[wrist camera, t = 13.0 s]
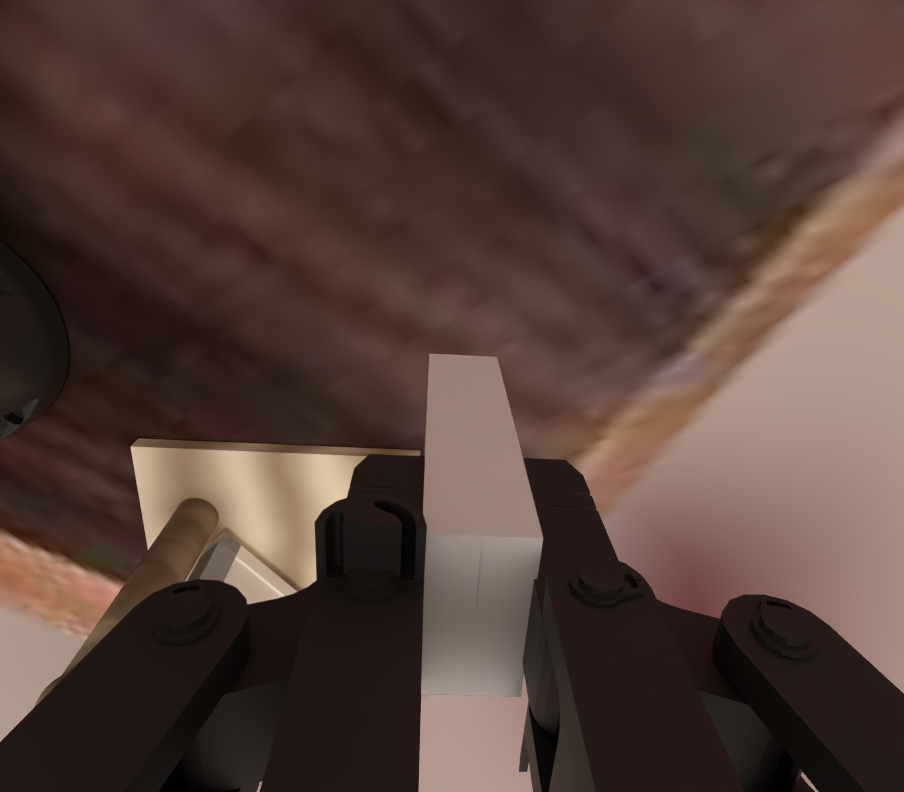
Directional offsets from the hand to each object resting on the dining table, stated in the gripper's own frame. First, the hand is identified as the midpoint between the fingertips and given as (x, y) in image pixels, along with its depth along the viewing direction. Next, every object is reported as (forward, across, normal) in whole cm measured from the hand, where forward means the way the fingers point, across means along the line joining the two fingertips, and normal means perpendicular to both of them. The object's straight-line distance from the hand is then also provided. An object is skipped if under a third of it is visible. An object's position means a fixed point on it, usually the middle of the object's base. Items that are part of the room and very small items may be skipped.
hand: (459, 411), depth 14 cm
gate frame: (+26, -11, -25) cm, 38 cm away
